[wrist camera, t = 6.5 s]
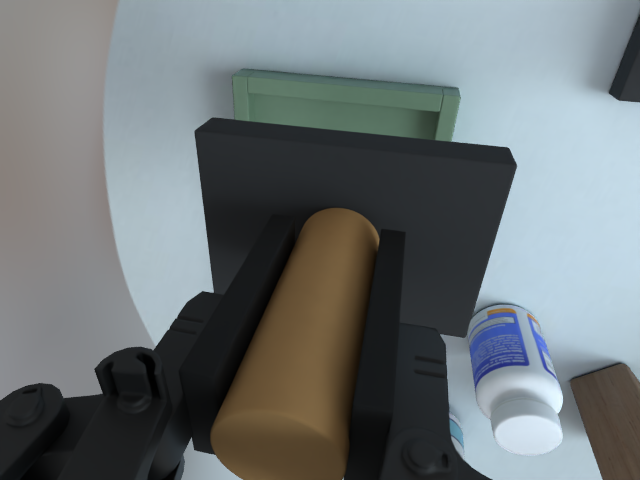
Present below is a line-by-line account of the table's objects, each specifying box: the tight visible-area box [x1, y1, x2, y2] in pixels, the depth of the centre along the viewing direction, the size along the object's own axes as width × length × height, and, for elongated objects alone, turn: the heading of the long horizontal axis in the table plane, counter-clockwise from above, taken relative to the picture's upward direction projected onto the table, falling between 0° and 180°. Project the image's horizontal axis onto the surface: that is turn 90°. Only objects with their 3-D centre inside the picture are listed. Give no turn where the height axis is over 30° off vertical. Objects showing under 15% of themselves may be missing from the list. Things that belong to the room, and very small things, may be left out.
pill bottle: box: [468, 305, 563, 456], centre depth 31 cm, size 5×5×10 cm
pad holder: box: [232, 69, 461, 142], centre depth 32 cm, size 20×14×2 cm
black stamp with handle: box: [195, 118, 517, 480], centre depth 13 cm, size 7×10×10 cm
